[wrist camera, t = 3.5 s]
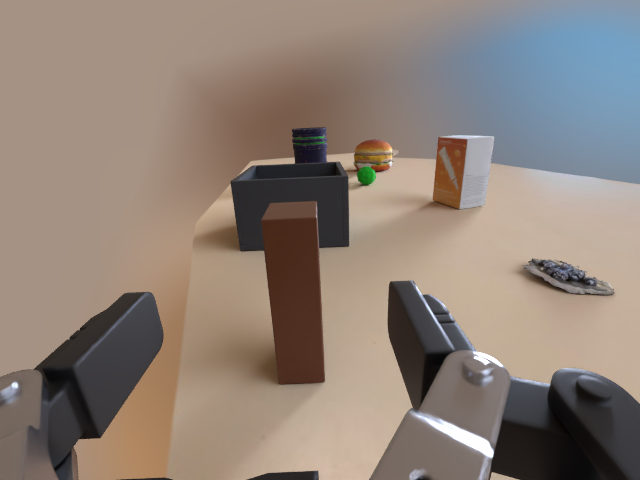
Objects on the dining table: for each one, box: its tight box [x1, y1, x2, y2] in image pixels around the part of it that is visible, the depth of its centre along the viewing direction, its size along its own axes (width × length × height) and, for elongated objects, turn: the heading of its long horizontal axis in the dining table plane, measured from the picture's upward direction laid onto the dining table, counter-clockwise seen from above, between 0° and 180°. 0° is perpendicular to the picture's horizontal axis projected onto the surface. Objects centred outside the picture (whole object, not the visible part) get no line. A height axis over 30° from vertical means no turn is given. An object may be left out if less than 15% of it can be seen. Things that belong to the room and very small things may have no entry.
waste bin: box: [231, 162, 349, 251], centre depth 52 cm, size 16×16×10 cm
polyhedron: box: [357, 166, 376, 185], centre depth 87 cm, size 5×5×5 cm
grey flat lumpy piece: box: [524, 259, 615, 295], centre depth 34 cm, size 7×8×2 cm
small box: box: [433, 135, 494, 209], centre depth 63 cm, size 8×6×13 cm
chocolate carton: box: [261, 201, 325, 384], centre depth 22 cm, size 3×4×12 cm
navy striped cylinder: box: [292, 128, 327, 164], centre depth 93 cm, size 10×10×15 cm
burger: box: [353, 140, 393, 171], centre depth 110 cm, size 14×14×10 cm
